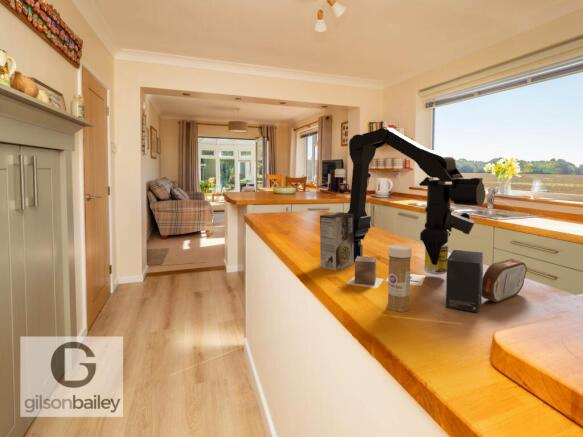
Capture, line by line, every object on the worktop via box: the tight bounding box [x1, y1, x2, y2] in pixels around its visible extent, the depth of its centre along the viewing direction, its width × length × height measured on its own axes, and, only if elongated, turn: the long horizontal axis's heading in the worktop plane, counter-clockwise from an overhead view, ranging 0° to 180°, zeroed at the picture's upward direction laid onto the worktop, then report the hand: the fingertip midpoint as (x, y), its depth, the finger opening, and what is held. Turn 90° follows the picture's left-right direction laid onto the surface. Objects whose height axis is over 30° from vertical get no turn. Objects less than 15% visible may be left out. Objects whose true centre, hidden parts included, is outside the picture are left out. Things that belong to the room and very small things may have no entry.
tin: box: [481, 258, 528, 303], centre depth 76 cm, size 15×3×8 cm, turn 123°
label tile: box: [384, 273, 426, 287], centre depth 91 cm, size 9×9×1 cm
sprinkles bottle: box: [386, 243, 413, 313], centre depth 71 cm, size 5×5×13 cm
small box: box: [445, 249, 484, 313], centre depth 74 cm, size 11×6×10 cm, turn 148°
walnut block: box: [354, 256, 377, 285], centre depth 89 cm, size 5×5×6 cm
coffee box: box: [319, 211, 355, 272], centre depth 103 cm, size 9×6×16 cm
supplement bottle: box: [424, 242, 449, 275], centre depth 91 cm, size 6×6×10 cm
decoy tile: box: [345, 275, 385, 289], centre depth 89 cm, size 8×8×1 cm
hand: (435, 261), depth 91 cm, fingers closed on supplement bottle, 6 cm apart
